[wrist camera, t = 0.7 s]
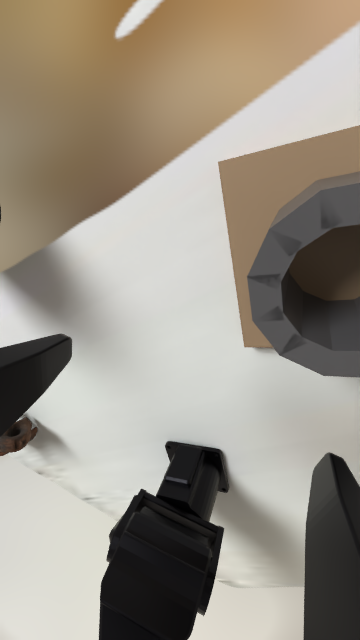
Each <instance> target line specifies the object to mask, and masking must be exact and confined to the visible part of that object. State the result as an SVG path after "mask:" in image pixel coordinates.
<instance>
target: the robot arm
mask: <svg viewBox="0 0 360 640" xmlns="http://www.w3.org/2000/svg"><path fill="white" fill-rule="evenodd" d="M71 357H72V339H71V338H70V337H68V336H66V335H64V334H56V335H52V336H48V337H44V338H40V339H36V340H31V341H27V342H23V343H19V344H15V345H11V346H7V347H3V348H0V437H1V436H2V435H3V434H4V433H5V432H6V431H7V430H8V429H9V428H10V427H11V426H12V425H13V424H14V423H15V422H16V421H17V420H18V419H19V418H20V417H21V416H22V415H23V414H24V413H25V412H26V411H27V410H28V409H29V408H30V407H31V406H32V405H33V404H34V403H35V402H36V401H37V400H38V399H39V398H40V397H41V395H42V394H43V393H44V392H45V391H46V390H47V389H48V387H49V386H50V385H51V384H52V382H53V381H54V380H55V379H56V377H57V376H58V375H59V374H60V372H61V371H62V370H63V369H64V367H65V366H66V365H67V364H68V362H69V361H70V359H71ZM165 448H166V451H167V454H168V457H169V460H170V464H169V467H168V469H167V471H166V473H165V476H164V479H163V481H162V483H161V485H160V488H159V490H158V492H157V494H156V496H154V495H152V494H150V493H147V492H146V490H144V489H141V490H140V492H139V493H138V495H135V496H134V497H133V499H132V501H131V503H130V505H129V507H128V509H127V511H126V512H125V514H124V515H123V516H122V517H121V519H120V520H119V521H118V523H117V524H116V525H115V527H114V528H113V529H112V530H111V532H110V535H109V538H110V546H109V551H108V555H107V561H108V562H109V566H108V568H107V570H106V572H105V575H104V577H103V580H102V582H101V594H100V624H99V640H187V639H188V638H189V637H190V635H191V633H192V630H193V626H194V622H195V618H196V614H197V612H198V613H200V614H201V615H203V616H204V615H205V612H206V610H207V606H208V603H209V600H210V596H211V592H212V589H213V584H214V580H215V576H216V571H217V565H218V560H219V554H220V549H221V543H222V538H223V532H224V528H223V527H221V526H216V525H214V524H212V523H210V522H209V521H210V517H211V514H212V510H213V506H214V502H215V499H216V495H217V491H220V492H224V493H227V492H228V490H229V485H228V480H227V476H226V471H225V467H224V462H223V457H222V453H221V451H220V450H218V449H214V448H208V447H202V446H196V445H189V444H183V443H177V442H170V441H168V442H167V443H166V445H165ZM304 597H305V599H304V640H360V486H359V485H358V483H357V481H356V479H355V478H354V476H353V474H352V473H351V471H350V469H349V467H348V466H347V464H346V462H345V461H344V459H343V458H341V457H339V456H337V455H335V454H332V453H326V454H325V456H324V457H323V458H322V459H321V460H320V462H319V463H318V464H317V465H316V467H315V468H314V471H313V475H312V482H311V490H310V497H309V505H308V512H307V520H306V539H305V595H304Z"/></svg>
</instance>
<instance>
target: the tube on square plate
mask: <svg viewBox="0 0 360 640" xmlns="http://www.w3.org/2000/svg"><path fill="white" fill-rule="evenodd" d="M218 165H219V172H220V179H221V186H222V193H223V200H224V207H225V214H226V221H227V228H228V235H229V242H230V249H231V256H232V263H233V270H234V277H235V284H236V291H237V298H238V305H239V312H240V319H241V326H242V334H243V341H244V347H273V348H274V349H275V350H276V351H277V352H278V354H279V355H280V356H282V357H285V358H287V359H289V360H291V361H293V362H295V363H297V364H300V365H302V366H304V367H306V368H308V369H310V370H313V371H315V372H317V373H319V374H321V375H323V376H341V377H360V125H359V126H355V127H351V128H347V129H344V130H340V131H336V132H332V133H328V134H324V135H320V136H317V137H313V138H309V139H305V140H301V141H297V142H293V143H290V144H286V145H282V146H278V147H274V148H270V149H266V150H263V151H259V152H255V153H251V154H247V155H243V156H239V157H236V158H232V159H228V160H224V161H220V162H218Z"/></svg>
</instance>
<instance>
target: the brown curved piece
mask: <svg viewBox="0 0 360 640" xmlns="http://www.w3.org/2000/svg"><path fill="white" fill-rule="evenodd" d="M31 428H32V423H31V422H30V420H29V419H28V418H27V417H25V418H23V419H22V420H19V421H17V422H15V423H14V424H13V425H12V426H11V427H10V428H9V429H8V430H7V431H6V432H5V433H4V434H3V435H2V436H1V437H0V456H3V455H5V454H7V453H9V452H16V451H19V450H21V449H22V448H24V447H25V446H26V445H27V443H28V442H29V441H30V440H32V439H33V438H34V437H35V436H36V433H37V427H35V428H33V429H32V430H31Z"/></svg>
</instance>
